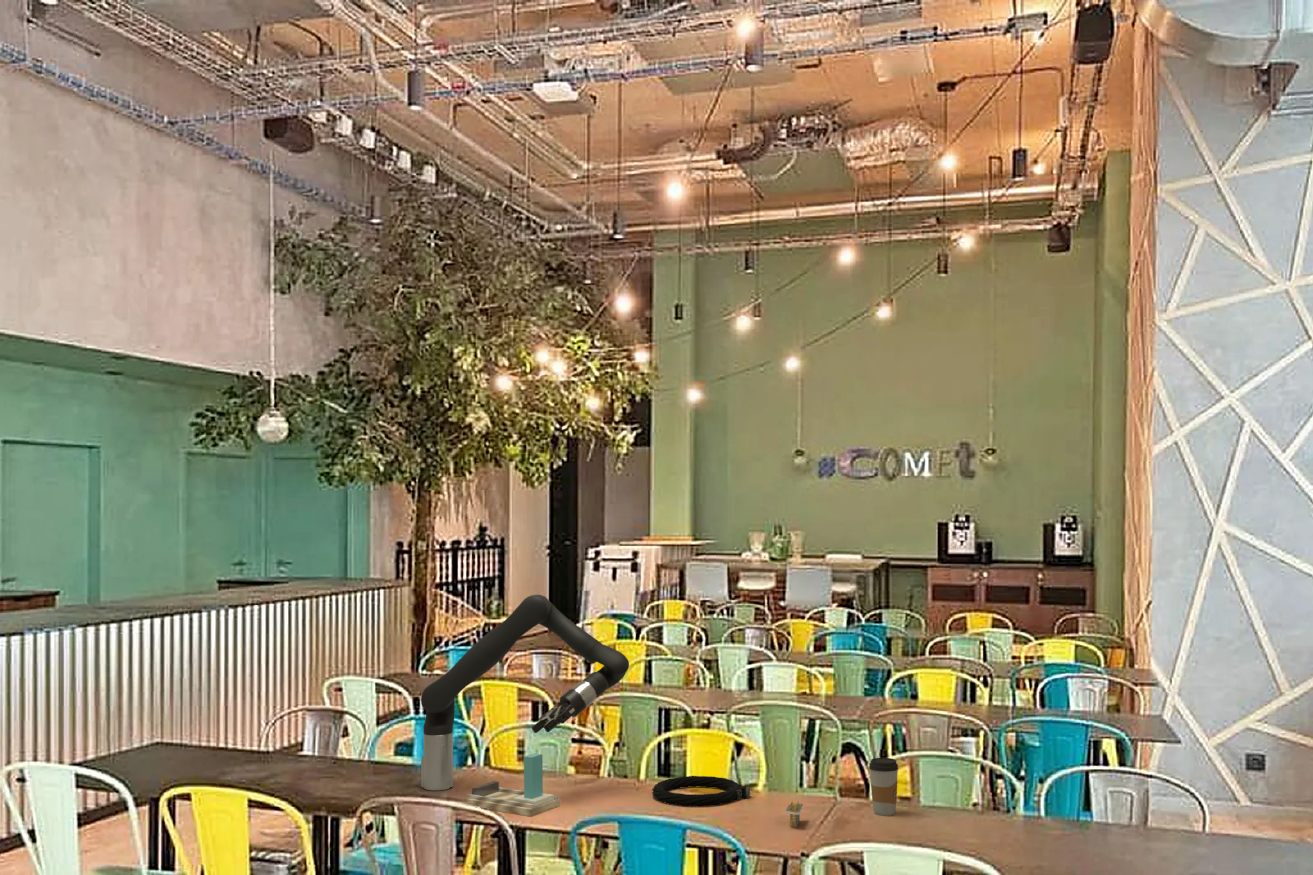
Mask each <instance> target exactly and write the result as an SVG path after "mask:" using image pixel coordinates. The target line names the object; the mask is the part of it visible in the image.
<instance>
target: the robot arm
mask: <svg viewBox="0 0 1313 875" xmlns="http://www.w3.org/2000/svg"><path fill="white" fill-rule="evenodd" d="M538 625H540V626H542V627H545V628H546V629H548V630H549V631H551V632H552V633H554V634H555V635H556V636H558V637H559V639H561V640H562V641H563V642H564V643H565V644H566V645H567V646H568V647H570V649H571V650H572V651H573V652H575V653H577V654H578V655H579V656H580V657H582V658H583V659H585V660H586V661H587V662H589V663H591V664H595V663H598V664H600V665H601V666H602V667H601V668H600V669H599V670H597V671H593V672H592V673H590V674H589V675H588V676H586V677H585V678H584V679H582V680H580V681H579V682H578V683H576V684H575V685H574V686H572V687H571V688H570V689H568V690H567V691H566V692H565V693H564V694H563V695H561V696H560V697H559V704H560V705H559V706H558V705H557V706H555V707H551V709H549V710H548V711H547V712H546V713H544V714H542V716H540V717H539V718H538V720H539V721H538V722H536V723H535V724H534V725H533V726H531V730H532V732H533V733H534V734H537V733H538V732H541V730H542V729H544V731H545V732H546V733H549V732H551V731H552V730H553V729H554V728H556V727H557V726H560V725H562V724H564V723H565V722H567V721H568V720H569V719H570V718H576V717H577V716H578V715H580V714H581V713H582V712H583V711H584V710H585V709H587V708H589V706H591V705H592V703H593V702H594V701H595V700H596V699H597V698H599V697H600V696H601V695H603V694H604V693H605V691H606V692H607V690H609V689H611V688H612V687H614V686H615V685H616V684H618V683H619V682H620V681H622V680H623V678H624V677H625V675H626V673H627V672H628V671H629V668H630V662H629V660H628V658H627V657H626V655H625V654H623V653H622V652H620V651H619V650H616V649H615V648H612V647H610V646H608V645H606V644H603V643H602V642H601V641H599V640H598V639H596V638H595V637H594V636H593V635H591V634H590V633H588V632H587V631H585V630H584V629H583V628H581V627H579V626H578V625H577V624H575V623H574V622H573V621H571V620H570V619H569V618H568V617H566V616H565V615H564V614H563V613H562V612H561V611H560V610H559V609H557V607H556V606H555V605H554V604H553V603H552V602H551V601H550V600H549V599H548V598H547V597H546V596H545V595H542V594H531V595H529V596H527V597H526V598H524V599H523V600H522V601H521V603H520V604H519V605H518V606H517V607H516V608H515V609H514V611H512V612H511V613H510V615H509V616H508V617H507V618H505V620H504V621H502V622H501V623H500V624H498V625H496V626H495V627H494V628H492V629H491V630H490V631H488V632H487V633H486V634H485V635H484V636H482V637H481V638H480V639H479V640H478V641H477V642H476V643H474V644H473V645H472V646H471V647H470V648H469V649H468V650H467V651H466V652H465V653H464V654H463V656H461V657H460V659H459V660H457V662H456V663H455V664H454V666H451V668H450V669H449V670H448V671H447V672H446V673H445V674H444V675H442V676H441V677H439V678H438V679H436V680H435V681H433V682H432V683H430V684H429V685H427V686H426V687H425V688H424V689H423V691H422V693H421V696H420V703H421V706H422V708H423V709H424V711H425V719H424V722H423V728H422V730H423V732H422V733H423V756H421V759H420V765H421V769H420V770H421V771H420V772H421V773H420V774H421V775H420V776H421V777H420V779H421V780H420V782H421V784H420V786H421V788H423V789H424V790H428V791H444V790H449V788H450V787H452V788H453V787H454V735H453V734H454V730H453V729H454V724H455V723H454V722H455V702H456V701H455V700H456V699H455V698H456V697H457V696H458V695H459V694H460V693H461V691H463V690H464V689H465V688H467V686H469V685H470V684H472V683H474V682H475V681H476V680H478V679H479V678H481V677H482V676H483V675H485V674H486V673H487V672H489V671H490V670H491V669H492V668H493V667H494V666H496V665H497V664H498V663H499V662H500V661H502V659H503V658H504V657H505V656H506V655H507V654H508V653H509V652H510V650H511V649H512V647H514V646H515V644H516V643H517V641H519V639H520V638H521V637H523V636H524V635H525V634H526V633H527V632H529V631H530V630H531V629H533V628H535V627H536V626H538ZM450 789H451V788H450Z"/></svg>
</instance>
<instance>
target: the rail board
mask: <svg viewBox="0 0 1313 875" xmlns="http://www.w3.org/2000/svg"><path fill="white" fill-rule="evenodd" d="M521 795H524V790H520V789H512V788H507V787H501V786H500V781H497V780H496V781H495V780H492V781H488V782H486V783H481V784H479V785H476V786H473V787H471V793H468V794H467V795H466V798H464V803H465V802H467V803H471V804H473V805H476V806H481V807H483V808H487V809H486V810H489V809H490V810H489V811H495V812H501V813H508V814H512V815H513V814H514V815H519V816H525V817H534V816H536V815H539V814H542V813H544V812H547V811H550V810H553V809H555V808H557V807H561V799H560V798H559V796H558V795H554V800H552V801H549V802H546V803H544V804H541V805H538V806H535V804H529V803H522V802H516V801H513V798H515V797H518V796H521ZM483 808H482V809H483Z"/></svg>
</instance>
